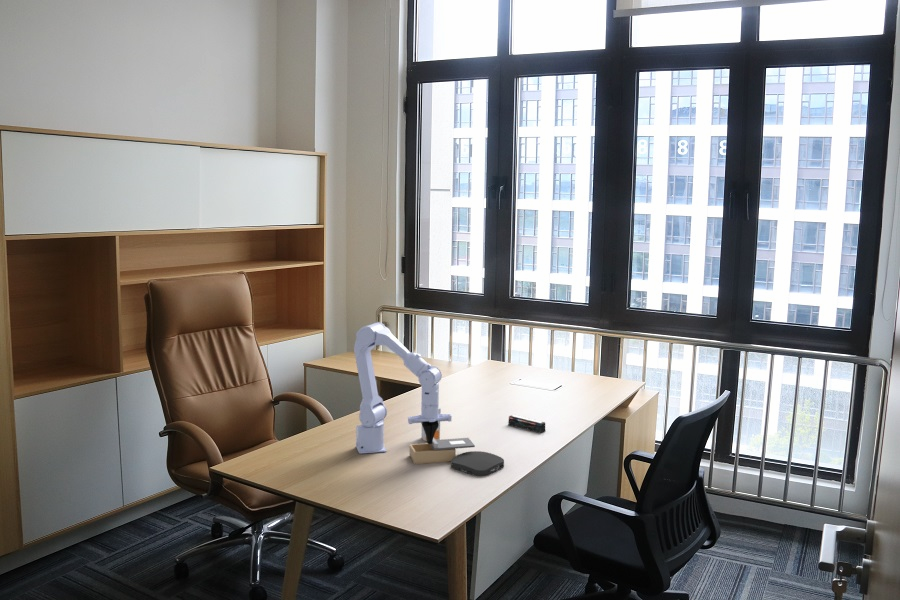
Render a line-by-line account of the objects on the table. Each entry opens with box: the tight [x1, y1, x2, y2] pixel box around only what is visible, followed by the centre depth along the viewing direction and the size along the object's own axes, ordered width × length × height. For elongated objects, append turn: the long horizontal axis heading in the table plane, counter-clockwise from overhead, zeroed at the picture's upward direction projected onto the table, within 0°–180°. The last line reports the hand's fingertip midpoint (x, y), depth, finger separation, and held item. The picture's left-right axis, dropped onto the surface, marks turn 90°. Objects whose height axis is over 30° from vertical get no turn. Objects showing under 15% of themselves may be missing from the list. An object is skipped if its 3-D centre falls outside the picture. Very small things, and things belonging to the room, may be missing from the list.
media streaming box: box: [450, 450, 505, 477], centre depth 254 cm, size 15×15×3 cm
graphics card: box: [507, 414, 546, 434], centre depth 296 cm, size 14×25×4 cm, turn 51°
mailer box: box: [409, 442, 457, 465], centre depth 260 cm, size 14×8×4 cm, turn 105°
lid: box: [430, 437, 476, 450], centre depth 261 cm, size 14×8×2 cm, turn 105°
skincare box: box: [421, 406, 441, 442], centre depth 279 cm, size 6×4×12 cm
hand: (429, 442), depth 259 cm, fingers closed
